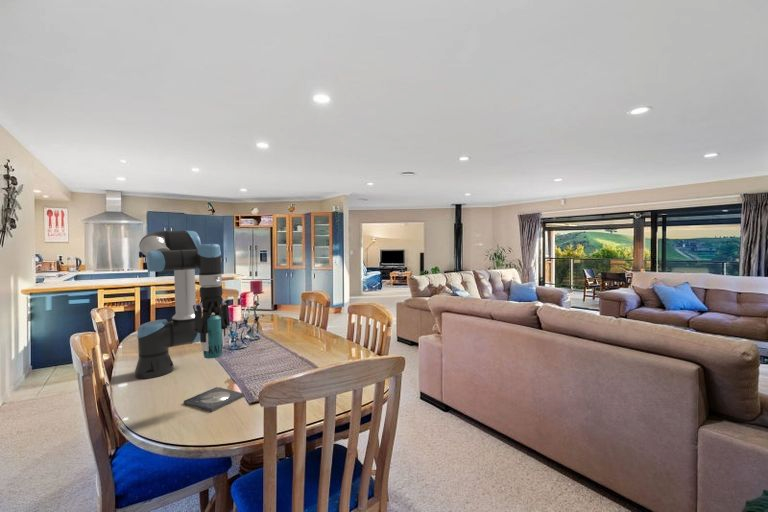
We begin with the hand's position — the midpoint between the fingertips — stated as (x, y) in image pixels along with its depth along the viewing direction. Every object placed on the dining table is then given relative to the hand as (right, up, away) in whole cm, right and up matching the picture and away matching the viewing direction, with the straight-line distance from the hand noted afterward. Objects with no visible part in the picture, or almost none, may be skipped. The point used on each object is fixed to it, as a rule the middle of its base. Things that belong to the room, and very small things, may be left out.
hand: (213, 348), depth 137 cm
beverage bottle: (0, -5, 0) cm, 5 cm away
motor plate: (0, -20, +1) cm, 20 cm away
